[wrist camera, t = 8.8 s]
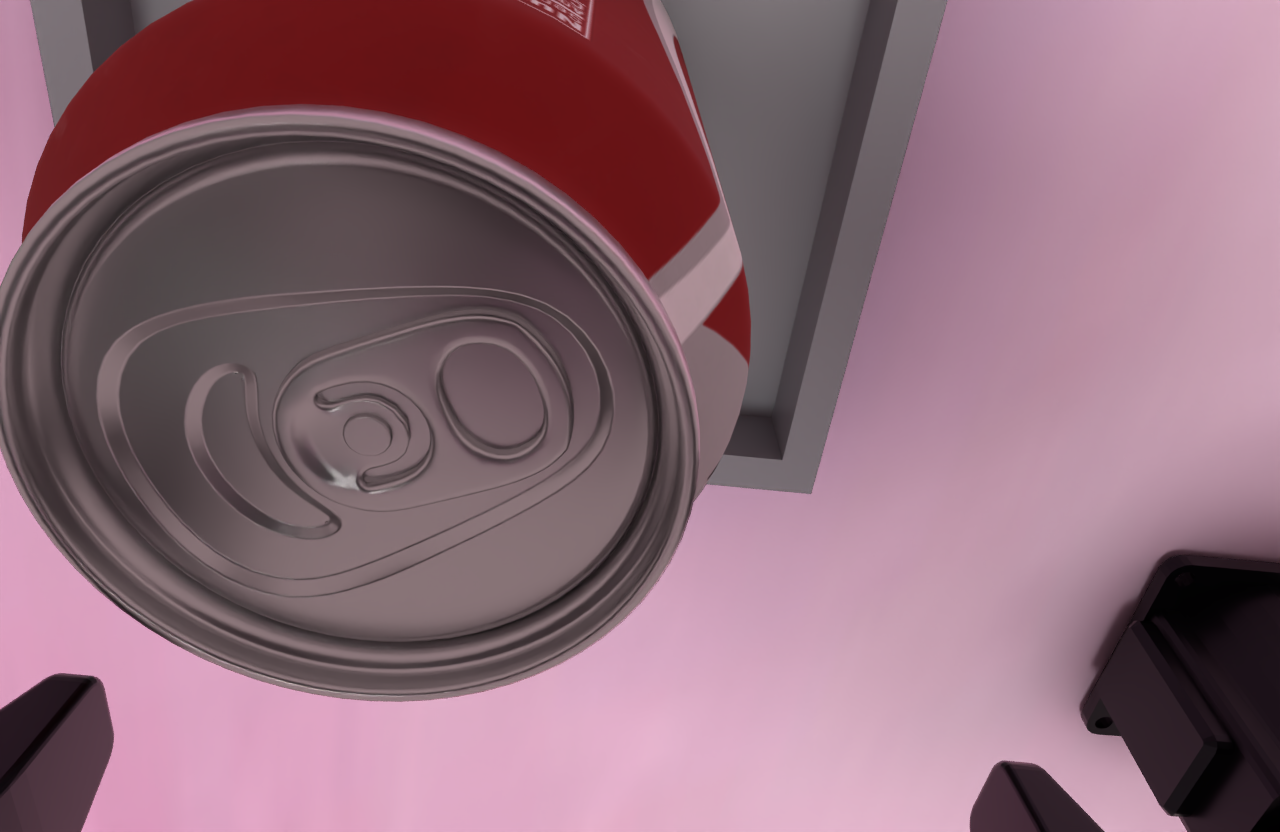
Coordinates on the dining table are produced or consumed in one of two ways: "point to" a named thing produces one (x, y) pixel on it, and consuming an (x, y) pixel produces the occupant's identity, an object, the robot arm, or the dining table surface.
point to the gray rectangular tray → (732, 177)
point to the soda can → (376, 334)
